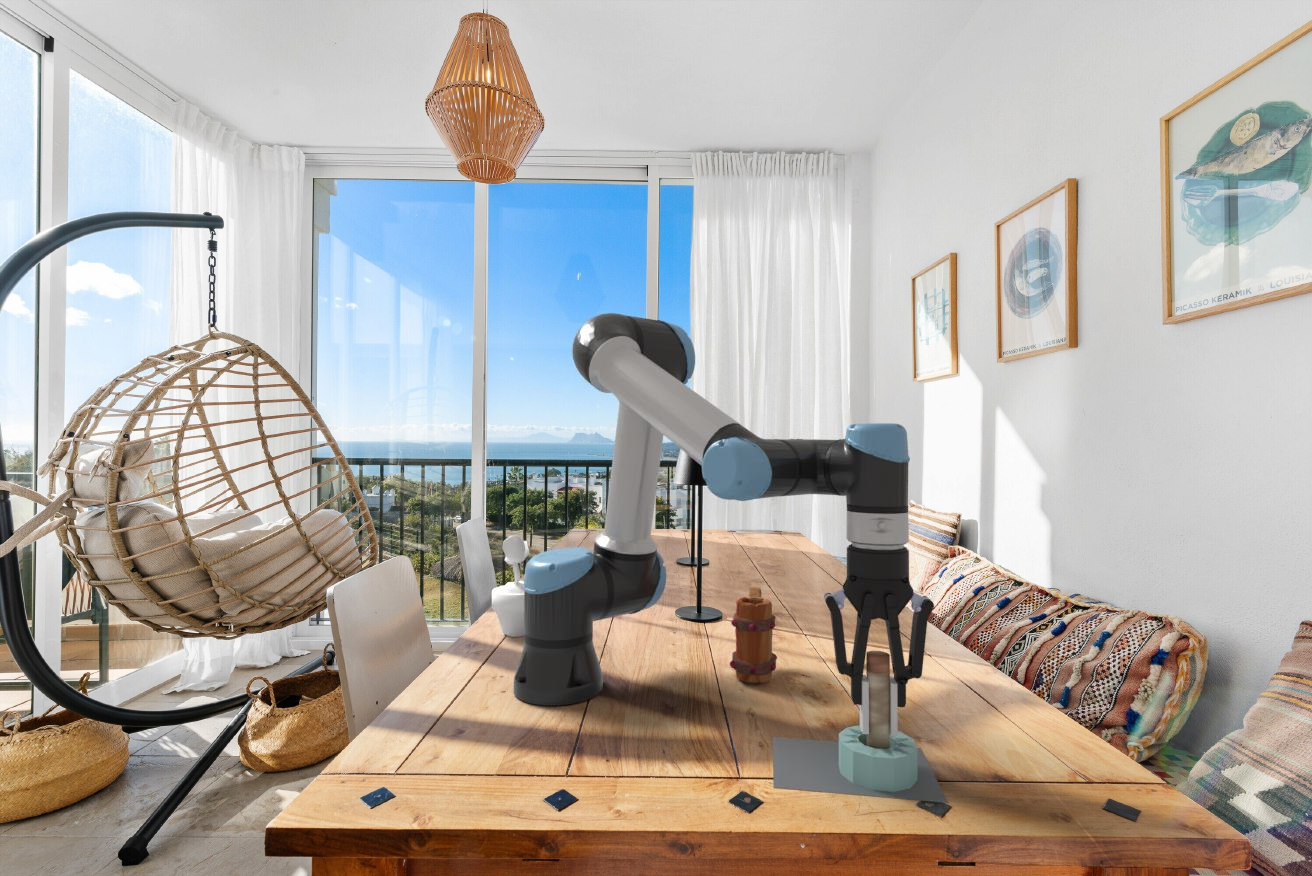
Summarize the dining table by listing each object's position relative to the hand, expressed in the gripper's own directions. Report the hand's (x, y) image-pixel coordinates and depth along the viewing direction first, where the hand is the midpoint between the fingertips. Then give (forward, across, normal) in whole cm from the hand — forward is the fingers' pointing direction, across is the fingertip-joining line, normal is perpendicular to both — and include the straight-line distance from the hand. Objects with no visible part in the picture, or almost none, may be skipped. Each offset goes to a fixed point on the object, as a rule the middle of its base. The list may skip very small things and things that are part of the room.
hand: (878, 730), depth 84 cm
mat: (+6, -3, +1) cm, 7 cm away
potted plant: (+6, -68, +53) cm, 87 cm away
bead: (+5, 0, 0) cm, 5 cm away
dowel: (+5, 0, 0) cm, 5 cm away
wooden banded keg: (+6, -16, +35) cm, 39 cm away
